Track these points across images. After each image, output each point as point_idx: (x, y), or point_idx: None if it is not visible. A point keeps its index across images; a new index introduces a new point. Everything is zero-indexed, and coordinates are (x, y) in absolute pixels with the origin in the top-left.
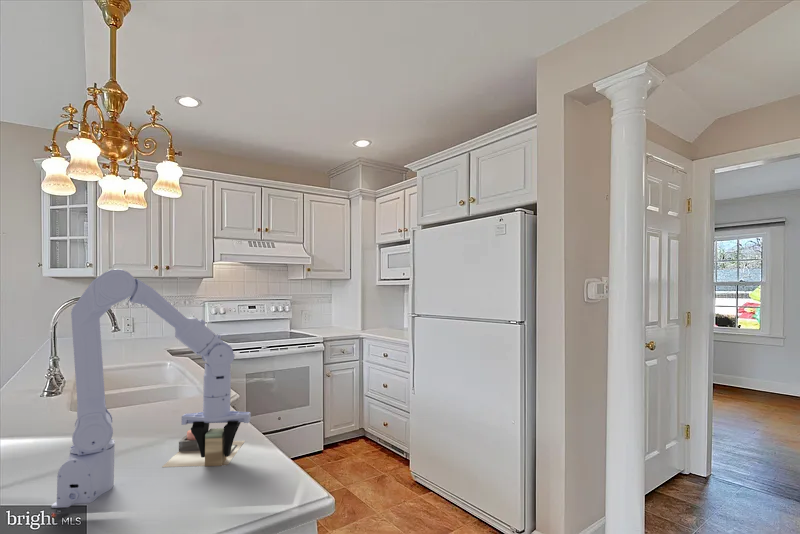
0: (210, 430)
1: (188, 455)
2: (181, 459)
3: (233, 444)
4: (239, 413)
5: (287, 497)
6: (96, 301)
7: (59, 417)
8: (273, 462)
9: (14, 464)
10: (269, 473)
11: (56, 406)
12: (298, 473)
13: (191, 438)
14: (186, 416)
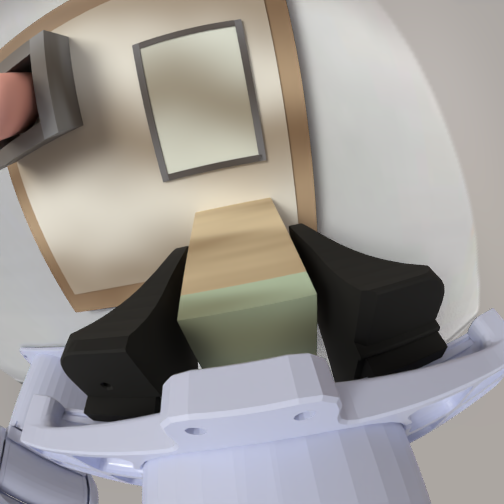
0: (203, 349)
1: (73, 190)
2: (78, 231)
3: (212, 12)
4: (464, 403)
5: (439, 330)
6: None
7: None
8: (431, 176)
9: None
10: (424, 253)
11: None
12: (472, 244)
13: (10, 135)
14: (84, 471)
